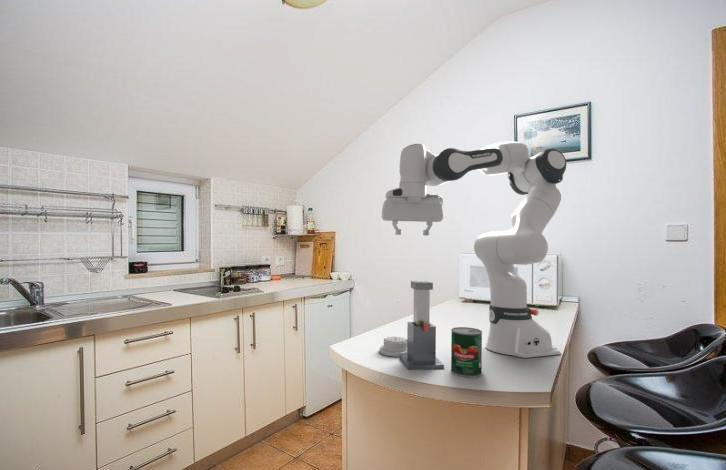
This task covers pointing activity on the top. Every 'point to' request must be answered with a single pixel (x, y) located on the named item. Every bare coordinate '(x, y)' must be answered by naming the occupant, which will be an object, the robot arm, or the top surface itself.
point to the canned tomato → (466, 351)
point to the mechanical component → (394, 346)
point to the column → (421, 301)
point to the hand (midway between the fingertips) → (412, 235)
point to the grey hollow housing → (421, 347)
